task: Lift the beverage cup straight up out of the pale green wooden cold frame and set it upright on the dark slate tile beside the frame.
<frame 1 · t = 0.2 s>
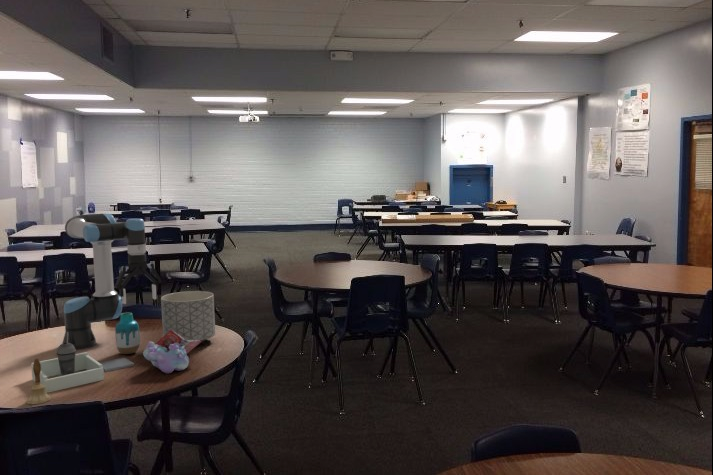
hand: (139, 301, 266), 28 cm above the table, fingers open, 13 cm apart
vase: (128, 353, 283), on the table
slate tile: (115, 365, 265), on the table
pastel lumpy cloud blob: (171, 368, 261), on the table
planter: (189, 343, 299), on the table
beverage cup: (68, 380, 248), resting in cold frame
hand bell: (38, 401, 225), on the table
cold frame: (68, 379, 248), on the table
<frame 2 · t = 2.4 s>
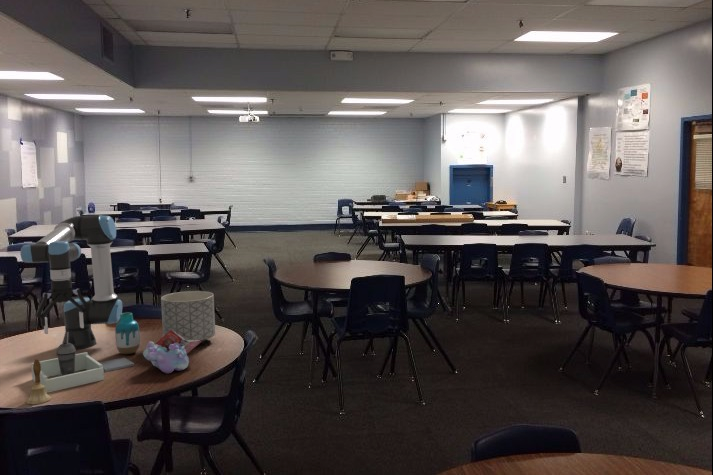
hand: (64, 330, 245), 21 cm above the table, fingers open, 13 cm apart
nothing on the table moved.
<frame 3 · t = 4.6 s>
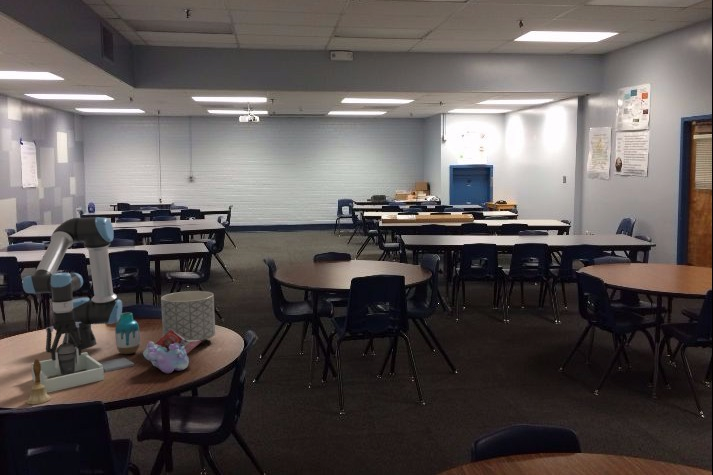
hand: (67, 365, 247), 6 cm above the table, fingers closed on beverage cup, 7 cm apart
beverage cup: (68, 380, 248), resting in cold frame, touching gripper
everything else where it was.
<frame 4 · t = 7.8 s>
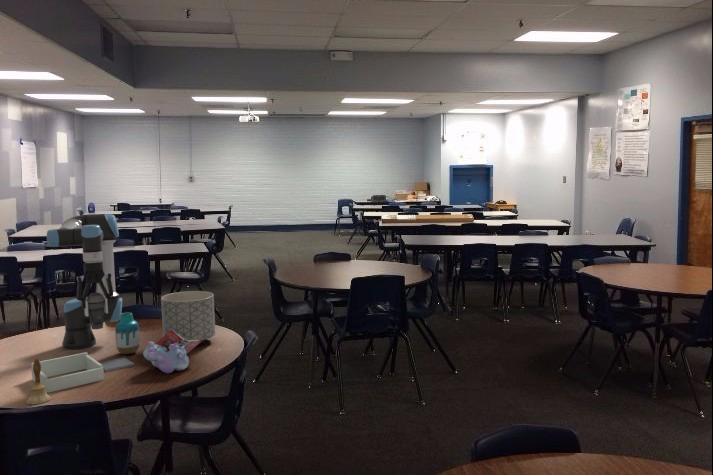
hand: (96, 314, 257), 25 cm above the table, fingers closed on beverage cup, 7 cm apart
beverage cup: (97, 328, 257), point 18 cm above the table, touching gripper
everything else where it was.
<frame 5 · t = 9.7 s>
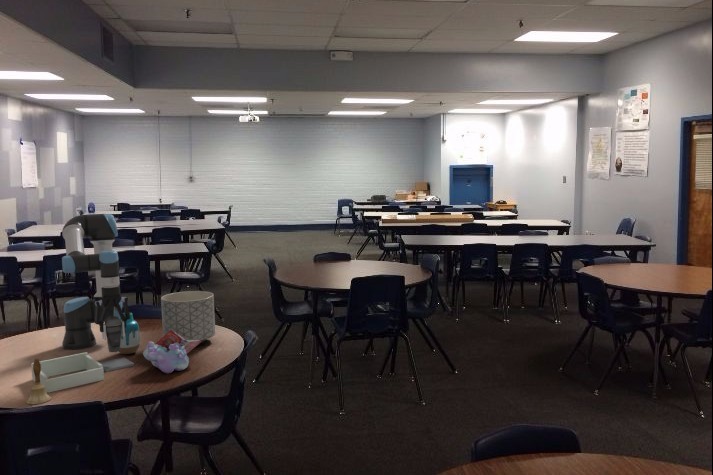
hand: (113, 337, 264), 13 cm above the table, fingers closed on beverage cup, 7 cm apart
beverage cup: (114, 351, 264), point 7 cm above the table, touching gripper
everything else where it was.
when the fingers open (9 cm above the table, at t = 11.4 s): beverage cup drops 1 cm, resting on slate tile.
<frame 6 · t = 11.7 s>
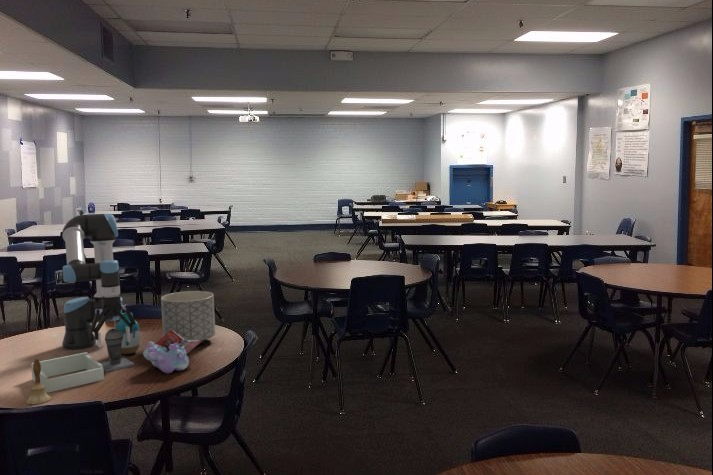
hand: (114, 343, 264), 10 cm above the table, fingers open, 12 cm apart
beverage cup: (115, 363, 265), point 1 cm above the table, touching slate tile
everything else where it was.
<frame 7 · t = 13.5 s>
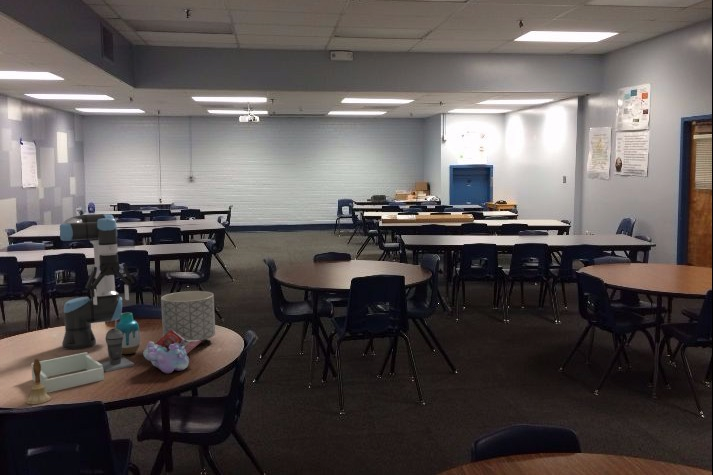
hand: (111, 302, 262), 29 cm above the table, fingers open, 13 cm apart
nothing on the table moved.
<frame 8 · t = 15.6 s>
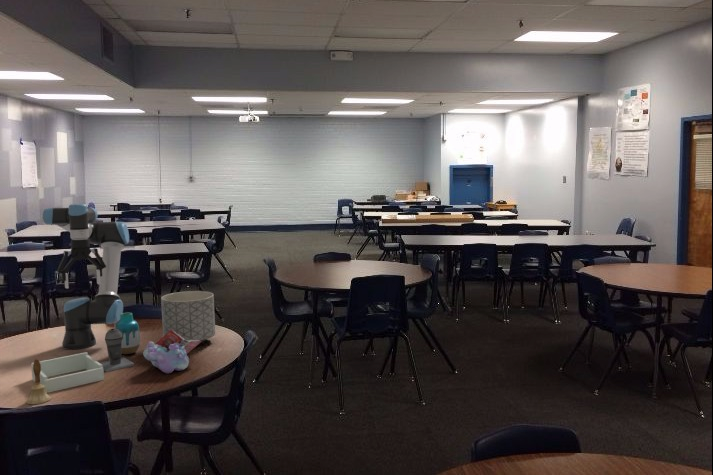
hand: (83, 286, 268), 35 cm above the table, fingers open, 13 cm apart
nothing on the table moved.
at the end: beverage cup inside the target area (0.1 cm from its centre), point 0.8 cm above the table; beverage cup tilted 1°; the gripper is holding nothing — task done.
